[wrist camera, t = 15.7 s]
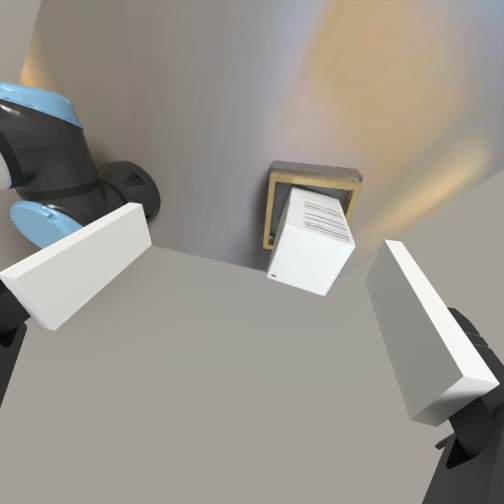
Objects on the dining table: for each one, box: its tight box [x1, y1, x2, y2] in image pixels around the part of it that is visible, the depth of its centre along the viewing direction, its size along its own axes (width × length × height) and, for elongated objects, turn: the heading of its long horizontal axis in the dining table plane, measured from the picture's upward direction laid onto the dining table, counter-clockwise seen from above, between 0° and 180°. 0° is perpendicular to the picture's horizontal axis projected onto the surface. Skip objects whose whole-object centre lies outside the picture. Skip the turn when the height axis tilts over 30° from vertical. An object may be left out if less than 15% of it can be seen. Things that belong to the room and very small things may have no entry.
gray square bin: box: [263, 161, 363, 249], centre depth 44 cm, size 16×16×9 cm
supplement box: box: [266, 186, 355, 296], centre depth 36 cm, size 10×9×17 cm
